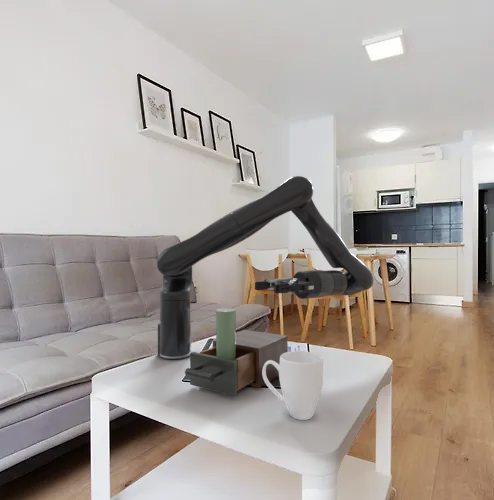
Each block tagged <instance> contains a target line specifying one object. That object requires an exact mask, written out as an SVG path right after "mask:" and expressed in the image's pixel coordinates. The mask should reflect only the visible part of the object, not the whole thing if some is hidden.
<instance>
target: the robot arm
mask: <svg viewBox="0 0 494 500" xmlns="http://www.w3.org/2000/svg"><path fill="white" fill-rule="evenodd" d="M313 195H314V186H313V183H312V181H311V180H310V179H309V178H307V177H305V176H302V175H294V176H291V177H289V178H287V179H286V180H285V181H284V182H282V183H281V184H279V185H278V186H277V187H275V188H274V189H272V190H271V191H269V192H268V193H266V194H264V195H262V196H261V197H259V198H257V199H255V200H253V201H250V202H248V203H246V204H244V205H242V206H240V207H238V208H236V209H234V210H233V211H231V212H229V213H227V214H225V215H223V216H222V217H220V218H219V219H217V220H215V221H213V222H212V223H211V224H209V225H207V226H206V227H204V228H203V229H201V230H200V231H199V232H198V233H196V234H194V235H192V236H190V237H189V238H187V239H183V240H182V241H180V242H177V243H175V244H173V245H171V246H168V247H166V248H164V249H163V250H162V251H160V252H159V254H158V256H157V258H156V268H157V271H158V272H159V273H160V274H161V275H162V285H161V288H160V291H159V323H158V324H157V355H158V356H159V357H160V358H162V359H165V360H179V359H180V360H181V359H185V358H188V357H190V353H191V352H192V350H191V349H192V342H191V341H192V340H191V339H192V338H191V337H192V335H191V334H192V333H191V331H192V330H191V329H192V328H191V324H192V323H191V321H192V320H191V317H192V316H191V312H192V311H191V308H192V307H191V302H192V301H191V294H192V293H191V292H192V287H193V266H195V265H196V264H197V263H200V261H202V260H204V259H206V258H207V257H210V256H212V255H215V254H218V253H220V252H223V251H225V250H227V249H229V248H232V247H234V246H236V245H238V244H239V243H242V242H244V241H245V240H247V239H249V238H250V237H252V236H254V235H255V234H256V233H258V232H259V231H260V230H262V229H263V228H264V227H266V226H267V225H268V224H270V223H271V222H272V221H273V220H275V219H277V218H279V217H281V216H283V215H285V214H286V213H289V212H291V213H292V214H293V215H294V216H295V217H296V218H297V220H298V221H300V223H301V224H302V225H303V227H304V228H305V229H306V231H307V232H308V233H309V235H310V238H311V239H312V240H313V241H314V243H315V245H316V246H317V248H318V250H319V251H320V252H321V254H322V255H323V257H324V258H325V260H326V261H327V263H328V264H329V266H330V267H331V268H332V270H331V269H330V270H322V269H314V270H313V269H312V270H309V269H308V270H299V271H296V272H295V274H294V275H293V277H284V278H274V279H267V278H266V279H264V280H261V281H254V290H255V291H273V293H274V294H276V295H277V294H278V295H279V294H289V295H295V296H296V297H297V298H298V299H300V300H307V299H316V298H318V299H319V298H324V297H327V296H336V295H338V296H352V295H355V294H358V293H362V292H364V291H368V290H369V289H371V288H372V287H373V285H374V282H375V281H374V275H373V273H372V271H371V270H370V269H369V267H368V266H367V265H366V264H364V262H362V261H361V260H360V259H359V258H358V257H357V256H355V255H354V254H353V253H352V252H351V251H350V250H349V248H348V246H347V245H346V244H345V241H343V239H342V238H341V236H340V235H339V233H338V232H337V231H336V230H335V229H334V228H333V227H332V226H331V224H329V222H328V221H327V220H326V219H325V218H324V216H323V215H322V214H321V212H320V211H319V210H318V207H317V206H316V204H315V202H314V200H313ZM335 269H336V270H335ZM337 269H343V270H345V271H344V272H343V271H340V270H337Z"/></svg>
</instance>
